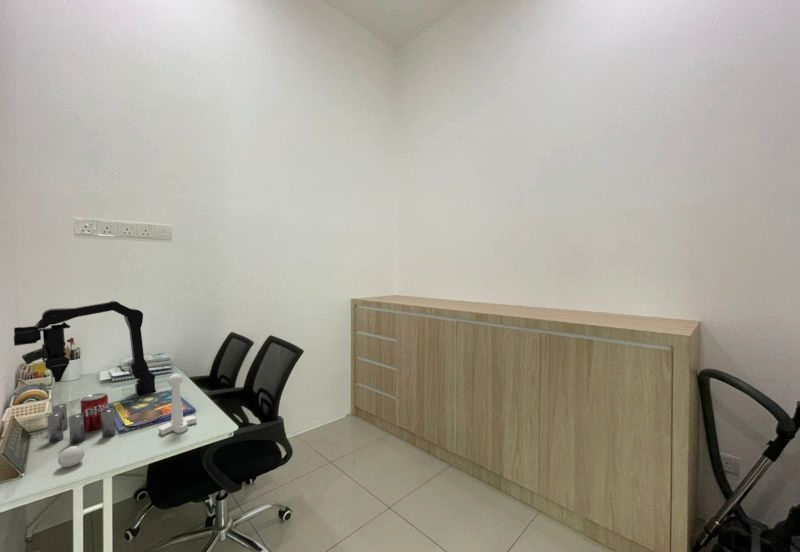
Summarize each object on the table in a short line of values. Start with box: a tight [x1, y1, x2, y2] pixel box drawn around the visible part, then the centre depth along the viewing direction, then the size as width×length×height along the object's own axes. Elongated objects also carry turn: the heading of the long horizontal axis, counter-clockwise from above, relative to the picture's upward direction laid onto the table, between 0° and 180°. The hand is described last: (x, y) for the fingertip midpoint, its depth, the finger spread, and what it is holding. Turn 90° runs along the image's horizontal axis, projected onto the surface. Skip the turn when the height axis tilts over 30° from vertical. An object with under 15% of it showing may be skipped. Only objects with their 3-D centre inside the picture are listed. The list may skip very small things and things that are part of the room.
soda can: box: [80, 392, 109, 434], centre depth 118 cm, size 7×7×12 cm
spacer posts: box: [46, 403, 117, 446], centre depth 112 cm, size 9×25×9 cm, turn 79°
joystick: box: [158, 373, 198, 436], centre depth 117 cm, size 11×8×20 cm
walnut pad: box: [125, 409, 164, 422], centre depth 125 cm, size 12×12×1 cm
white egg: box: [51, 445, 85, 468], centre depth 96 cm, size 8×6×6 cm
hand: (56, 379), depth 129 cm, fingers open, 9 cm apart
